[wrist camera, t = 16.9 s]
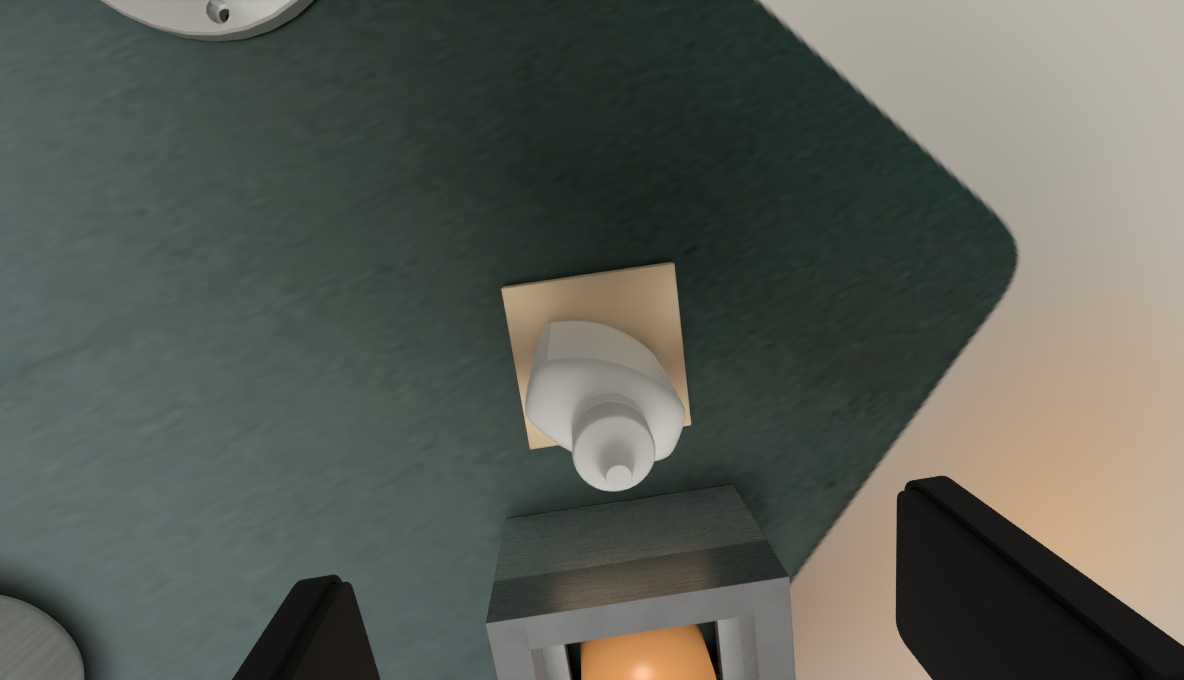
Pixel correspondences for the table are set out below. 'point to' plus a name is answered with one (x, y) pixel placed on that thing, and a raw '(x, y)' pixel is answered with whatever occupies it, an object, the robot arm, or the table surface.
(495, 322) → the table surface
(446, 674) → the table surface
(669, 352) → the coaster
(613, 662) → the button
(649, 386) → the eye dropper bottle
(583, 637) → the grey box
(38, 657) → the ramekin
